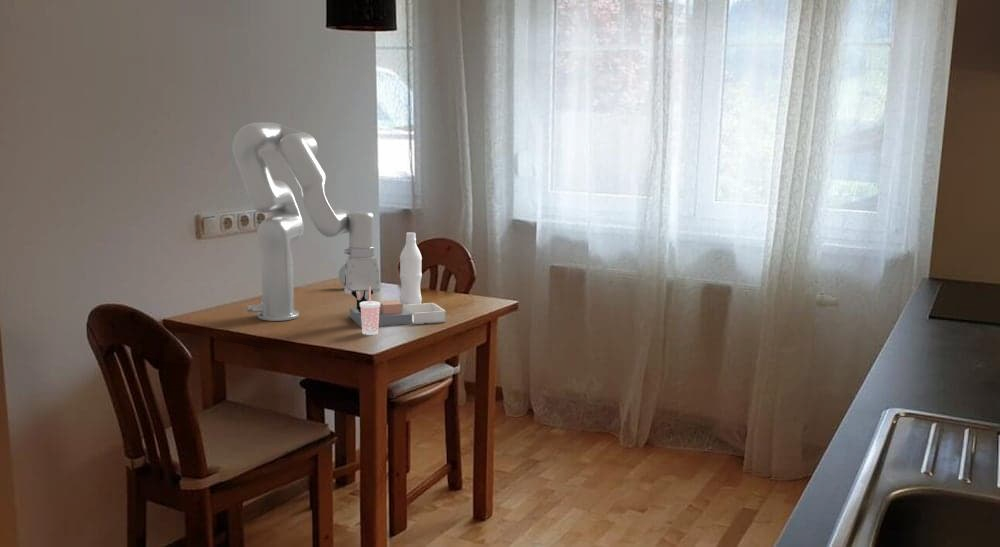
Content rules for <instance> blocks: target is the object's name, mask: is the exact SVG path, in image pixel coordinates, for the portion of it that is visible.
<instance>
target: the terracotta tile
mask: <svg viewBox="0 0 1000 547" xmlns="http://www.w3.org/2000/svg"><path fill="white" fill-rule="evenodd" d="M377 302H380V303H381V305H380V308H379V311H380V312H381V313H382V314H383V315H386V314H400V313H402V303H401V302H400V300H398V299H390V300H389V299H385V300H377Z"/></svg>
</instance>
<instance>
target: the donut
mask: <svg viewBox="0 0 1000 547" xmlns="http://www.w3.org/2000/svg"><path fill="white" fill-rule="evenodd" d="M345 266H346V263H343V265H342V266H341V267H340V269H339V270H338V279H339V281H340V284H341V285H342V286H344V287H345V284H344V278H345Z"/></svg>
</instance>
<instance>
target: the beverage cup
mask: <svg viewBox="0 0 1000 547" xmlns="http://www.w3.org/2000/svg"><path fill="white" fill-rule="evenodd" d="M380 305H381V303H380V302H378V300H377V301H375V300H372V295H371V286H369V299H368V300H367V301H364V302H360V307H361V320H362V328H361V330H362V331H361V332H362V335H365V334H366V335H365V336H374V335H375V336H376V335H378V334H379V326H378V325H379V308H380Z"/></svg>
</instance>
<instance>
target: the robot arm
mask: <svg viewBox="0 0 1000 547" xmlns="http://www.w3.org/2000/svg"><path fill="white" fill-rule="evenodd" d="M231 147H232V154H233V158H234V161H235V163H236V166H237V169H238V170H239V173H240V175H241V179H242V182H243V185H244V188H245V191H246V193H247V196H248V198H249V202H250V204H251V207H252V208H253V209H254V210H255V211H256V212H257V213H260V214H267V213H270V216H269V217H267V218H265V219H263V220H262V221H261V222H260V224H259V225H258V229H257V241H258V246H259V250H260V253H259V254H260V264H261V265H260V267H261V268H260V270H261V298H262V299H261V300H262V301H259V302H260V303H258V304H256V305H247V306H246V312H247V313H249V312H250V313H251V312H252V313H257V318H258V319H259V320H262V321H268V322H282V321H284V322H285V321H290V320H294V319H297V318H299V317H300V313H299V312H300V311H298V310H295V301H294V298H295V297H294V296H295V295H294V259H293V254H292V249H291V245H290V244H292V243H294V242H295V243H296V242H297V241H299V240H300V239H301V237H302V236H303V234H304V232H305V227H304V221H303V218H302V215H301V212H300V209H299V206H298V202H297V201H296V198H295V196H294V192H293V191H292V189H291V187H290V186H289V185H288V184H287V183H286V182H284V181H282V180H278V179H274V178H273V176H272V174H271V171H270V167H269V165H268V164H267V162H266V160H265V158H264V157H263V156H262V152H264V151H274V152H278V153H280V155H281V157H282V159H283V160H284V162H285V164H286V166H287V167H288V169H289V171H290V172H291V173H292V175H293V177H294V179H295V181H296V182H297V184H298V186H299V188H300V190H301V198H302V200H303V205H304V208H305V211H306V214H307V215H308V217H309V220H311V222H312V223H313V224H312V225H314V227H315V229H317V231H318V232H319V233H320V234H321V235H322V236H325V237H327V238H335V237H338V236H339V235H343V234H347V233H348V247H347V249H344V250H343V252H344V255H348V256H347V257H346V261H345V264H346V266H345V278H344V284H345V286H344V290H343V292H344V293H343V294H345V295H352V296H353V297H355V299H356V307H357V310H358V311H359V312H360V313H361V307H360V302H364V301H369V286H371V296H372V295H373V294H376V293H379V292H380V286H381V275H380V267H379V260H378V256H376V255H375V216H374V215H375V214H374V213H372V212H371V211H365V210H359V211H358V210H357V211H354V210H349V209H346V208H345V209H344V208H337V209H333V208H332V207H331V205H330V203H329V202H328V199H327V197H326V194H325V184H326V179H327V175H326V172H325V171H324V169H323V167H322V166H321V164H320V163H319V161H318V159H317V157H316V155H317V153H318V148H319V145H318V143H317V141H316V138H314V136H312V134H309V133H307V132H305V131H302V130H298V129H295V128H293V127H289V126H286V125H283V124H280V123H277V122H271V121H270V122H267V121H266V122H252V123H251V122H250V123H247V124H246V125H243V126H242V127H241V128H240V129H239V130H238V131H237V132H236V134H235V136H234V138H233V140H232V146H231ZM361 291H362V295H361Z"/></svg>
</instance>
